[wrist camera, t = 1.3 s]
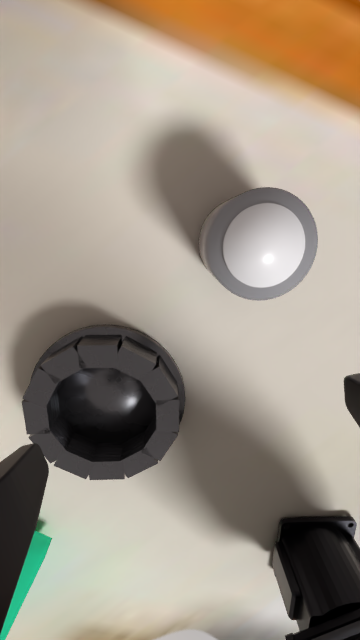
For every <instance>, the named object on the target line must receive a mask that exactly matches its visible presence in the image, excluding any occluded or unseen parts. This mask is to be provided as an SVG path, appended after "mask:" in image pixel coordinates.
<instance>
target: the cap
mask: <svg viewBox="0 0 360 640" xmlns="http://www.w3.org/2000/svg"><path fill="white" fill-rule="evenodd" d="M317 243H318V236H317V228H316V224H315V221H314V218H313V216H312V214H311V212H310V211H309V209H308V208H307V206H306V205H305V204H304V203H303V202H302V201H301V200H300V199H299V198H298V197H296V196H295V195H293V194H291V193H290V192H287V191H285V190H282V189H278V188H270V187H265V188H257V189H252V190H250V191H247V192H244V193H242V194H240V195H238V196H236V197H234V198H232V199H230V200H228V201H226V202H224V203H222V204H220V205H219V206H217V207H216V208H215V209H214V210H213V211H212V212H211V213H210V214H209V215H208V217H207V218H206V220H205V221H204V223H203V225H202V228H201V231H200V236H199V251H200V255H201V259H202V261H203V263H204V265H205V266H206V268H207V269H208V270H209V272H210V273H211V274H212V275H213V276H214V277H215V278H216V279H217V280H218V281H219V282H220V283H221V284H222V285H223V286H224V287H225V288H226V289H228V290H229V291H230V292H232V293H233V294H235V295H237V296H239V297H242V298H245V299H250V300H268V299H273V298H276V297H279V296H281V295H283V294H285V293H287V292H289V291H290V290H292V289H293V288H294V287H296V286H297V285H298V284H299V283H300V282H301V281H302V280H303V278H304V277H305V276H306V275H307V273H308V271H309V270H310V268H311V266H312V264H313V261H314V258H315V255H316V251H317Z"/></svg>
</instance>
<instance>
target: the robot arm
mask: <svg viewBox="0 0 360 640" xmlns="http://www.w3.org/2000/svg"><path fill="white" fill-rule="evenodd" d="M344 392H345V403H346V406H347V409H348V410H349V412H350V414H351V415H352V417H353V418H354V420H355V421H356V423H357V424H358V426H359V427H360V373H358V374H353V375H349V376H346V377H345V378H344ZM48 473H49V468H48V464H47V462H46V459H45V457H44V455H43V452H42V450H41V448H40V446H39V445H38V444H36V443H34V444H29V445H24V446H22V447H20V448H19V449H18V450H16V451H15V452H13V453H12V454H11V455H9V456H8V457H7V458H5V459H4V460H3V461H1V462H0V634H1V631H2V628H3V625H4V622H5V619H6V616H7V613H8V610H9V607H10V604H11V601H12V598H13V595H14V592H15V589H16V586H17V583H18V580H19V577H20V574H21V571H22V568H23V565H24V562H25V559H26V556H27V553H28V550H29V547H30V544H31V541H32V538H33V535H34V532H35V528H36V525H37V521H38V517H39V513H40V508H41V504H42V500H43V495H44V491H45V487H46V482H47V478H48ZM356 525H357V524H356V522H355V520H354V519H353V517H350V516H347V517H312V518H284V519H282V520H281V521H280V523H279V531H278V539H277V541H276V543H275V545H274V553H273V562H272V566H273V569H274V574H275V577H276V579H277V582H278V585H279V588H280V591H281V595H282V598H283V601H284V604H285V607H286V611H287V614H288V616H289V618H290V619H291V620H297V623H298V627H299V630H300V632H297V633H295V634H293V633H290V634H287V635H285V637H286V640H360V548H359V546H358V545H357V543H356V541H355V540H354V534H355V530H356Z"/></svg>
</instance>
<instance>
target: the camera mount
mask: <svg viewBox="0 0 360 640" xmlns="http://www.w3.org/2000/svg"><path fill="white" fill-rule="evenodd" d="M51 539H52V538H50V537H48V536H46V535H44V534H41V533H39V532H37V531H35V532H34V535H33V538H32V541H31V544H30V547H29V550H28V553H27V556H26V559H25V562H24V565H23V568H22V571H21V574H20V577H19V580H18V583H17V586H16V589H15V592H14V595H13V598H12V601H11V604H10V607H9V610H8V613H7V616H6V619H5V622H4V625H3V628H2V631H1V634H0V640H5V639H6V637H7V635H8V632H9V630H10V628H11V626H12V624H13V622H14V620H15V618H16V616H17V614H18V612H19V610H20V608H21V606H22V603H23V601H24V599H25V597H26V595H27V593H28V591H29V589H30V587H31V585H32V583H33V581H34V579H35V577H36V574H37V572H38V570H39V568H40V566H41V564H42V562H43V560H44V558H45V555H46V553H47V550H48V547H49V545H50V542H51Z"/></svg>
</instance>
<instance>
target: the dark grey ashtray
mask: <svg viewBox="0 0 360 640" xmlns="http://www.w3.org/2000/svg"><path fill="white" fill-rule="evenodd" d="M23 399H24V400H23V401H22V405H23V412H24V418H25V425H26V431H27V434H31V435H30V436H29V439H30V440H31V441H32V442H33V443H36V444H38V445H39V446H40V448H41V450H42V452H43V455H44V456H45V457H46V459H47V460H48V461H49V462H50V463H52V462H54V461H56V462H55V464H54V466H56V467H58V468H61V469H63V470H65V471H68V472H70V473H72V474H75V475H77V476H80V477H82V478H84V479H86V478H87V476H88V475H89V478H90V480H107V479H124V478H125V475H126V476H127V477H128V478H129V477H131V476H133V475H135V474H137V473H139V472H141V471H143V470H145V469H147V468H149V467H151V466H153V465H155V464H157V463H158V460H159V461H161V459H162V458H163V456H164V455H165V453H166V452H167V450H168V449H169V447H170V446H171V444H172V443H173V441H174V440H175V438H176V437H177V435H178V432H179V424H180V421H181V419H182V416H183V412H184V406H185V391H184V384H183V379H182V376H181V373H180V371H179V368H178V367H177V365H176V363H175V361H174V360H173V358H172V357H171V356H170V354H169V353H168V352H167V351H166V350H165V349H164V348H163V347H162V346H161V345H160V344H159V343H157V342H156V341H155V340H153V339H152V338H150V337H148V336H147V335H145V334H143V333H141V332H138V331H136V330H133V329H130V328H127V327H121V326H116V325H96V326H90V327H85V328H81V329H78V330H75V331H73V332H71V333H69V334H67V335H65V336H64V337H62V338H61V339H59V340H58V341H56V342H55V343H54V344H53V345H52V346H51V347H50V348H49V349H48V350H47V351H46V352H45V353H44V354H43V356H42V357H41V358H40V360H39V361H38V363H37V365H36V367H35V369H34V371H33V374H32V377H31V382H30V384H29V386H28V388H27V390H26V392H25V394H24V396H23Z"/></svg>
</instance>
